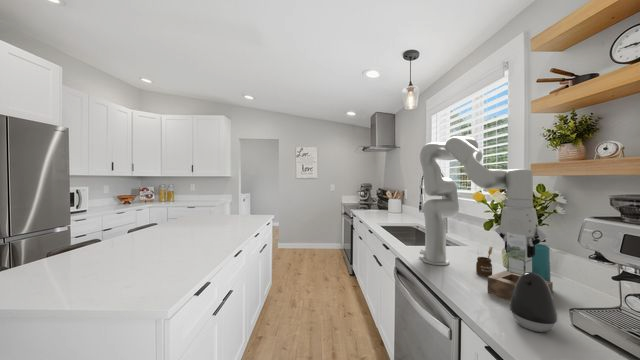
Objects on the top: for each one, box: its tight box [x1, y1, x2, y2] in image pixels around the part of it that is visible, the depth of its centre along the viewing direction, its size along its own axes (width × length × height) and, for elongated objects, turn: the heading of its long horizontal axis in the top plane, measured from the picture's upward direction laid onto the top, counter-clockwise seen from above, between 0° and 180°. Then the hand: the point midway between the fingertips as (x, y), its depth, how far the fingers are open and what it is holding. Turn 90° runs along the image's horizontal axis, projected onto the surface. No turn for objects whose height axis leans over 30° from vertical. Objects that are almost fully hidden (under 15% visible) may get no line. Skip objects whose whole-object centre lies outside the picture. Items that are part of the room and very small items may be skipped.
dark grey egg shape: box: [509, 272, 558, 333], centre depth 73 cm, size 10×10×15 cm
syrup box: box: [506, 232, 532, 275], centre depth 92 cm, size 6×6×14 cm
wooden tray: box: [487, 269, 554, 302], centre depth 92 cm, size 14×14×6 cm
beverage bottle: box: [532, 235, 552, 282], centre depth 100 cm, size 6×7×20 cm
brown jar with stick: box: [475, 246, 493, 278], centre depth 113 cm, size 6×6×12 cm
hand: (519, 254), depth 92 cm, fingers closed on syrup box, 5 cm apart
